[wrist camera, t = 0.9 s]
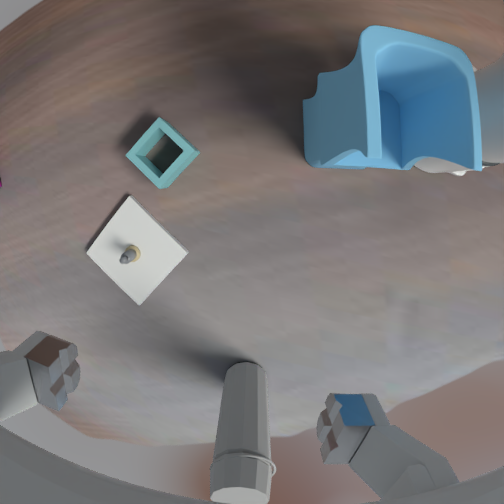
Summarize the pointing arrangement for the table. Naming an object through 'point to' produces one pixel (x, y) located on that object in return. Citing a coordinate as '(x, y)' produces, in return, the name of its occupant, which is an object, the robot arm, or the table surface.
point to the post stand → (136, 250)
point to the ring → (148, 142)
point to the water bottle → (243, 439)
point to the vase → (395, 106)
